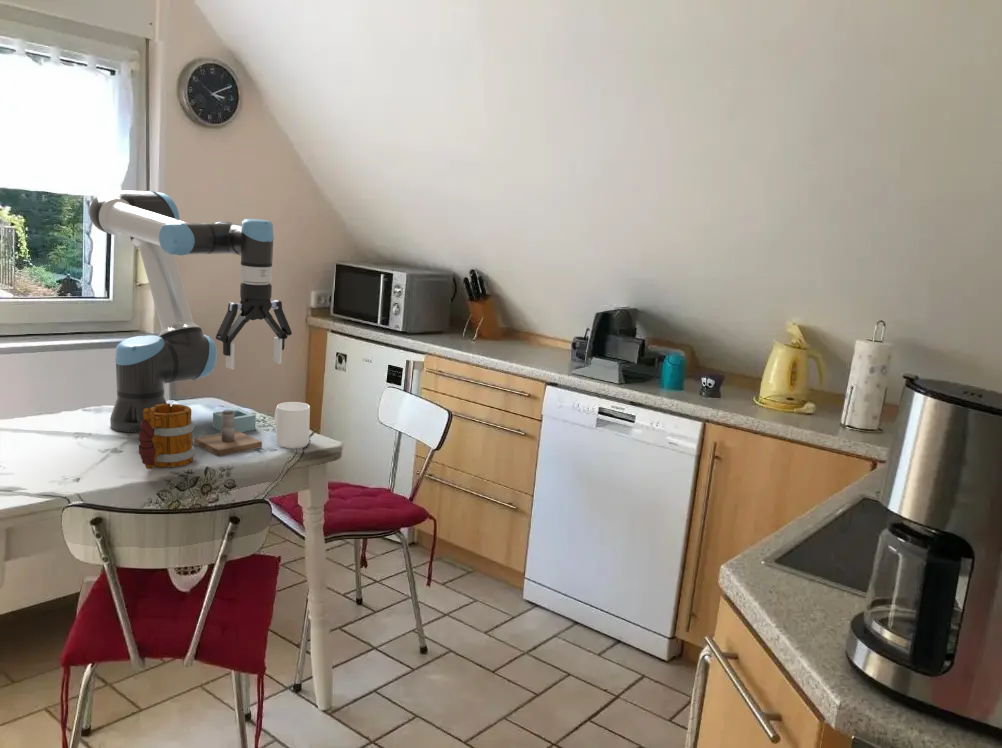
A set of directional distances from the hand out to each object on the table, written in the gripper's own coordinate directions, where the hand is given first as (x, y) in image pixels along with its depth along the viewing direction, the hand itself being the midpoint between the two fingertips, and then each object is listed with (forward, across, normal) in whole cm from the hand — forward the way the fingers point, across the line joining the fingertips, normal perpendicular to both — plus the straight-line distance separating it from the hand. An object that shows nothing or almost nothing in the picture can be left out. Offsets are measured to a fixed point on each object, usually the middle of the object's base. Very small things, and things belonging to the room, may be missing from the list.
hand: (254, 365), depth 217 cm
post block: (+20, -7, 0) cm, 21 cm away
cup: (+20, +7, -6) cm, 22 cm away
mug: (+20, -26, -4) cm, 33 cm away
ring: (+20, +2, +12) cm, 24 cm away
